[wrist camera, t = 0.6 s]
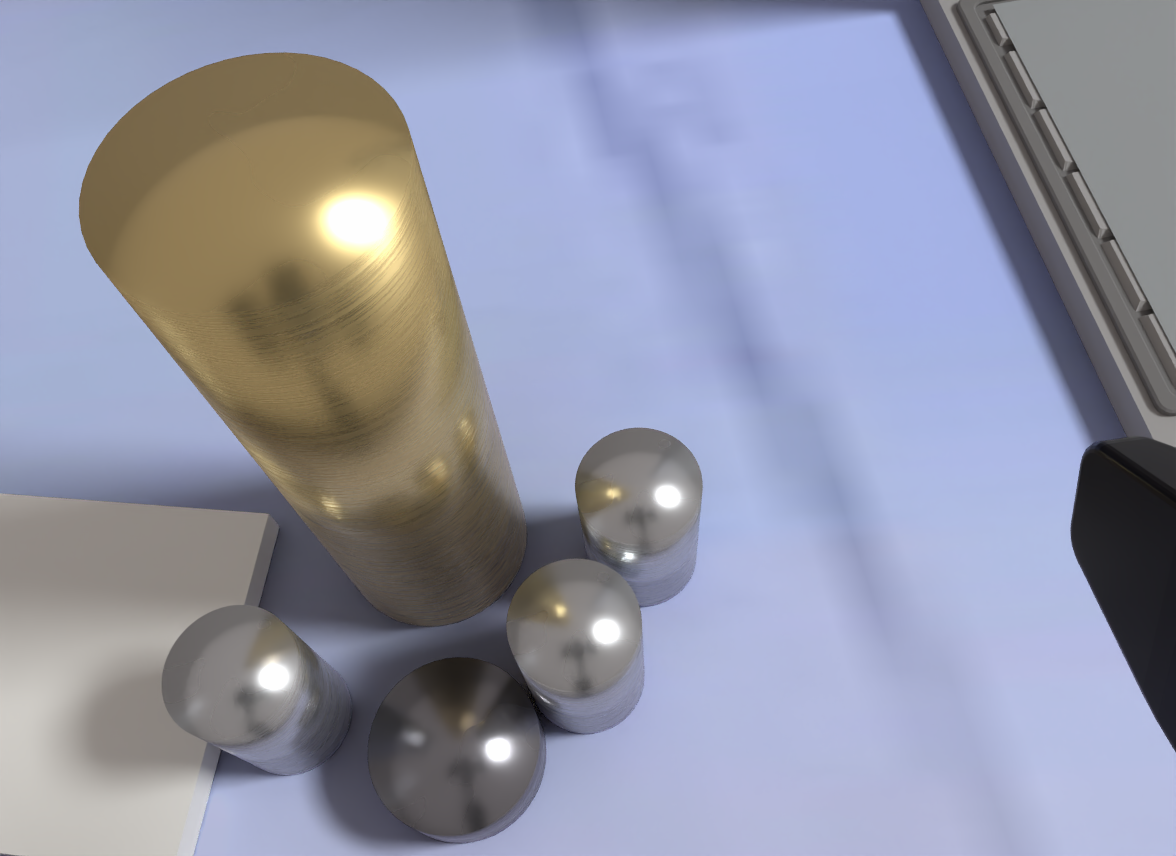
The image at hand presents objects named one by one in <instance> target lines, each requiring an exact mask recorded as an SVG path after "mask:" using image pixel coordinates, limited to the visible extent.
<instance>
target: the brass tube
mask: <svg viewBox="0 0 1176 856" xmlns="http://www.w3.org/2000/svg"><path fill="white" fill-rule="evenodd" d="M79 219H80V225H81V231H82V235H83V237H84V240H85V243H86V246H87V248H88V250H89V252H90V253H91V255H92V257H93V258H94V260H95V262H96V263H97V264H98V266H99V267H100V268H101V269H102V271H103V272H104V273H105V274H106V276H107V277H108V278H109V279H110V281H111V282H112V283H113V284H114V286H115V287H116V288H117V289H118V291H119V292H120V293H121V294H122V296H123V297H124V298H125V299H126V300H127V302H128V303H129V304H130V305H131V307H132V308H133V309H134V310H135V312H136V313H137V314H138V315H139V317H140V318H141V319H142V320H143V322H144V323H145V324H146V325H147V327H148V328H149V329H150V330H151V332H152V333H153V334H154V335H155V337H156V338H157V339H158V340H159V342H160V343H161V344H162V345H163V347H164V348H165V349H166V350H167V352H168V353H169V354H170V355H171V357H172V358H173V359H174V360H175V362H176V363H177V364H178V365H179V367H180V368H181V369H182V370H183V371H184V373H185V374H186V375H187V376H188V378H189V379H190V380H191V381H192V383H193V384H194V385H195V386H196V388H197V389H198V390H199V391H200V393H201V394H202V395H203V396H204V398H205V399H206V400H207V401H208V403H209V404H210V405H211V406H212V408H213V409H214V410H215V411H216V413H217V414H218V415H219V416H220V418H221V419H222V420H223V421H224V423H225V424H226V425H227V426H228V428H229V429H230V430H231V431H232V433H233V434H234V435H235V436H236V438H237V439H238V440H239V441H240V442H241V444H242V445H243V446H244V447H245V449H246V450H247V451H248V452H249V454H250V455H251V456H252V457H253V459H254V460H255V461H256V462H257V464H258V465H259V466H260V467H261V469H262V470H263V471H264V472H265V474H266V475H267V476H268V477H269V479H270V480H271V481H272V482H273V484H274V485H275V486H276V487H277V489H278V490H279V491H280V492H281V494H282V495H283V496H284V497H285V499H286V500H287V501H288V502H289V504H290V505H291V506H292V507H293V509H294V510H295V511H296V512H297V513H298V515H299V516H300V517H301V518H302V520H303V521H304V522H305V523H306V525H307V526H308V527H309V528H310V530H311V531H312V532H313V533H314V535H315V536H316V537H317V538H318V540H319V541H320V542H321V543H322V545H323V546H324V547H325V548H326V550H327V551H328V552H329V553H330V555H331V556H332V557H333V558H334V560H335V561H336V562H337V563H338V565H339V566H340V567H341V568H342V570H343V571H344V572H345V573H346V575H347V576H348V577H349V578H350V580H351V581H352V582H353V583H354V584H355V586H356V587H357V588H358V589H359V591H360V592H361V593H362V594H363V596H364V597H365V598H366V599H367V600H368V601H369V603H370V604H372V605H373V606H374V607H375V608H376V609H377V610H379V611H380V612H382V613H383V614H385V615H387V616H388V617H390V618H393V619H395V620H397V621H400V622H403V623H407V624H411V625H417V626H441V625H448V624H452V623H456V622H459V621H462V620H465V619H467V618H470V617H472V616H474V615H476V614H477V613H479V612H481V611H483V610H484V609H485V608H487V607H488V606H490V605H491V604H492V603H493V602H495V601H496V600H497V599H498V598H499V597H500V596H501V595H502V594H503V593H504V592H505V590H506V589H507V588H508V587H509V585H510V584H511V582H512V581H513V579H514V578H515V576H516V574H517V572H518V570H519V568H520V566H521V563H522V560H523V557H524V553H525V549H526V541H527V527H526V520H525V515H524V511H523V508H522V504H521V501H520V498H519V494H518V491H517V488H516V484H515V481H514V478H513V474H512V471H511V468H510V465H509V461H508V458H507V455H506V451H505V448H504V445H503V441H502V438H501V435H500V431H499V428H498V425H497V421H496V418H495V415H494V411H493V408H492V405H491V401H490V398H489V395H488V391H487V388H486V385H485V381H484V378H483V375H482V371H481V368H480V365H479V361H478V358H477V355H476V351H475V348H474V345H473V341H472V338H471V335H470V331H469V328H468V325H467V321H466V318H465V315H464V311H463V308H462V305H461V301H460V298H459V295H458V291H457V288H456V285H455V281H454V278H453V275H452V271H451V268H450V265H449V261H448V258H447V255H446V251H445V248H444V245H443V241H442V238H441V235H440V231H439V228H438V225H437V222H436V218H435V215H434V212H433V208H432V205H431V202H430V198H429V195H428V192H427V188H426V185H425V182H424V178H423V175H422V172H421V168H420V165H419V162H418V158H417V155H416V152H415V148H414V145H413V142H412V138H411V135H410V132H409V129H408V126H407V123H406V121H405V118H404V116H403V114H402V112H401V110H400V109H399V107H398V105H397V104H396V102H395V101H394V99H393V98H392V97H391V96H390V95H389V94H388V93H387V91H386V90H385V89H384V88H383V87H381V86H380V85H379V84H378V83H377V82H375V81H374V80H373V79H372V78H370V77H369V76H367V75H365V74H364V73H362V72H360V71H359V70H357V69H355V68H352V67H350V66H348V65H346V64H343V63H341V62H338V61H334V60H331V59H328V58H324V57H319V56H313V55H308V54H298V53H263V54H254V55H246V56H241V57H236V58H231V59H227V60H223V61H220V62H217V63H213V64H210V65H207V66H204V67H201V68H199V69H196V70H194V71H191V72H189V73H187V74H185V75H183V76H181V77H179V78H177V79H175V80H173V81H171V82H169V83H167V84H165V85H164V86H162V87H161V88H159V89H157V90H156V91H154V92H153V93H151V94H150V95H148V96H147V97H146V98H144V99H143V100H142V101H140V102H139V103H138V104H137V105H135V106H134V107H133V108H132V109H131V110H130V111H129V112H128V113H126V114H125V115H124V116H123V117H122V118H121V119H120V120H119V121H118V122H117V124H116V125H115V126H114V127H113V128H112V129H111V130H110V132H109V133H108V134H107V135H106V137H105V138H104V140H103V141H102V143H101V144H100V146H99V147H98V148H97V150H96V152H95V154H94V156H93V158H92V160H91V162H90V164H89V166H88V168H87V171H86V174H85V177H84V180H83V183H82V188H81V193H80V199H79Z"/></svg>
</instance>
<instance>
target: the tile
mask: <svg viewBox="0 0 1176 856" xmlns="http://www.w3.org/2000/svg"><path fill="white" fill-rule="evenodd" d="M279 527H280V526H279V525H278V524H277V523H276V521H275V520H274V519H273V518H272V517H271V516H270V515H269V514H267V513H253V512H240V511H227V510H213V509H200V508H187V507H173V506H160V505H147V504H133V503H120V502H107V501H93V500H80V499H67V498H53V497H40V496H27V495H14V494H0V854H1V855H9V856H193V855H194V851H195V847H196V843H197V839H198V836H199V832H200V828H201V824H202V820H203V817H204V813H205V809H206V805H207V801H208V798H209V794H210V790H211V786H212V782H213V779H214V775H215V771H216V767H217V763H218V759H219V756H220V752H221V749H220V748H218V747H216V746H214V745H212V744H210V743H208V742H206V741H204V740H202V739H200V738H198V737H196V736H193V735H192V734H190V733H188V732H186V731H185V730H183V729H182V728H180V727H179V726H178V725H177V724H176V723H175V722H174V720H173V719H172V718H171V716H170V715H169V713H168V711H167V709H166V707H165V704H164V701H163V696H162V685H161V681H162V673H163V668H164V664H165V661H166V659H167V656H168V654H169V652H170V650H171V648H172V646H173V645H174V643H175V642H176V640H177V639H178V637H179V636H180V635H181V634H182V633H183V631H184V630H185V629H186V628H187V627H188V626H190V625H191V624H192V623H193V622H195V621H196V620H197V619H199V618H200V617H202V616H203V615H205V614H207V613H209V612H211V611H213V610H216V609H219V608H222V607H226V606H232V605H250V606H255V607H259V603H260V599H261V596H262V592H263V588H264V584H265V580H266V577H267V573H268V569H269V565H270V561H271V558H272V554H273V550H274V546H275V542H276V539H277V535H278V531H279Z"/></svg>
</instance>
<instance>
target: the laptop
mask: <svg viewBox="0 0 1176 856" xmlns="http://www.w3.org/2000/svg"><path fill="white" fill-rule="evenodd" d="M920 2H921V5H922V7H923V9H924V11H925V13H926V15H927V17H928V19H929V21H930V23H931V26H932V28H933V30H934V32H935V34H936V36H937V38H938V40H939V42H940V45H941V47H942V49H943V51H944V53H945V55H946V57H947V59H948V61H949V63H950V66H951V68H952V70H953V72H954V74H955V76H956V78H957V80H958V82H959V84H960V87H961V89H962V91H963V93H964V95H965V97H966V99H967V101H968V103H969V105H970V108H971V110H972V112H973V114H974V116H975V118H976V120H977V122H978V124H979V127H980V129H981V131H982V133H983V135H984V137H985V139H986V141H987V143H988V145H989V148H990V150H991V152H992V154H993V156H994V158H995V160H996V162H997V164H998V166H999V169H1000V171H1001V173H1002V175H1003V177H1004V179H1005V181H1006V183H1007V185H1008V187H1009V190H1010V192H1011V194H1012V196H1013V198H1014V200H1015V202H1016V204H1017V206H1018V209H1019V211H1020V213H1021V215H1022V217H1023V219H1024V221H1025V223H1026V225H1027V227H1028V230H1029V232H1030V234H1031V236H1032V238H1033V240H1034V242H1035V244H1036V246H1037V248H1038V251H1039V253H1040V255H1041V257H1042V259H1043V261H1044V263H1045V265H1046V267H1047V270H1048V272H1049V274H1050V276H1051V278H1052V280H1053V282H1054V284H1055V286H1056V288H1057V291H1058V293H1059V295H1060V297H1061V299H1062V301H1063V303H1064V305H1065V307H1066V309H1067V312H1068V314H1069V316H1070V318H1071V320H1072V322H1073V324H1074V326H1075V328H1076V330H1077V333H1078V335H1079V337H1080V339H1081V341H1082V343H1083V345H1084V347H1085V349H1086V352H1087V354H1088V356H1089V358H1090V360H1091V362H1092V364H1093V366H1094V368H1095V370H1096V373H1097V375H1098V377H1099V379H1100V381H1101V383H1102V385H1103V387H1104V389H1105V391H1106V394H1107V396H1108V398H1109V400H1110V402H1111V404H1112V406H1113V408H1114V410H1115V412H1116V415H1117V417H1118V419H1119V421H1120V423H1121V425H1122V427H1123V429H1124V431H1125V433H1126V436H1127V437H1134V436H1143V437H1148V438H1151V439H1154V440H1157V441H1160V442H1162V443H1165V444H1168V445H1171V446H1173V447H1176V0H920Z"/></svg>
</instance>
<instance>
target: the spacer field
mask: <svg viewBox="0 0 1176 856" xmlns="http://www.w3.org/2000/svg"><path fill="white" fill-rule="evenodd" d="M575 491H576V499H577V504H578V510H579V515H580V521H581V527H582V532H583V538H584V543H585V549H586V554H587V559H564V560H560V561H555V562H553V563H550V564H547V565H545V566H544V567H542V568H540V569H538V570H537V571H535V572H534V573H532V574H531V575H530V576H529V577H528V578H527V579H526V580H525V581H524V582H523V583H522V584H521V586H520V587H519V588H518V590H517V591H516V593H515V595H514V597H513V599H512V601H511V604H510V607H509V610H508V615H507V624H506V628H507V637H508V643H509V646H510V649H511V651H512V653H513V655H514V658H515V660H516V662H517V664H518V666H519V668H520V670H521V672H522V674H523V677H524V679H525V681H526V683H527V685H528V687H529V689H530V691H531V693H532V696H533V698H534V700H535V702H536V704H537V706H538V707H539V709H540V710H541V712H542V713H543V714H544V715H545V716H546V717H547V718H548V719H549V720H550V721H551V722H552V723H554V724H555V725H557V726H559V727H560V728H563V729H565V730H567V731H571V732H575V733H581V734H591V733H598V732H602V731H605V730H608V729H610V728H612V727H614V726H616V725H618V724H619V723H620V722H622V721H623V720H624V719H625V718H626V717H627V716H628V715H629V714H630V713H631V712H632V711H633V709H634V708H635V706H636V705H637V703H638V701H639V699H640V696H641V694H642V690H643V686H644V655H643V636H642V619H641V611H640V607H639V606H652V605H656V604H660V603H663V602H665V601H667V600H669V599H671V598H673V597H674V596H675V595H677V594H678V593H679V592H680V591H681V590H682V589H683V588H684V587H685V586H686V584H687V583H688V582H689V580H690V578H691V576H692V574H693V572H694V568H695V564H696V555H697V544H698V533H699V522H700V511H701V500H702V475H701V471H700V468H699V465H698V463H697V461H696V459H695V457H694V456H693V454H692V453H691V452H690V450H689V449H688V448H687V447H686V446H685V445H684V444H683V443H681V442H680V441H679V440H677V439H676V438H674V437H673V436H671V435H669V434H667V433H664V432H661V431H658V430H654V429H649V428H629V429H624V430H620V431H617V432H614V433H612V434H610V435H608V436H606V437H604V438H602V439H601V440H599V441H598V442H597V443H596V444H594V445H593V446H592V447H591V448H590V449H589V451H588V452H587V453H586V454H585V456H584V457H583V459H582V461H581V463H580V465H579V468H578V471H577V474H576V480H575ZM161 685H162V696H163V701H164V704H165V707H166V709H167V711H168V713H169V715H170V716H171V718H172V719H173V720H174V722H175V723H176V724H177V725H178V726H179V727H180V728H182V729H183V730H185V731H186V732H188V733H190V734H192V735H193V736H196V737H198V738H200V739H202V740H204V741H206V742H208V743H210V744H212V745H214V746H216V747H218V748H220V749H222V750H224V751H226V752H228V753H230V754H232V755H234V756H236V757H238V758H240V759H242V760H244V761H246V762H249V763H251V764H253V765H255V766H257V767H259V768H261V769H263V770H265V771H267V772H270V773H273V774H278V775H296V774H301V773H304V772H307V771H310V770H312V769H314V768H316V767H318V766H319V765H321V764H322V763H324V762H325V761H326V760H327V759H328V758H330V757H331V756H332V755H333V754H334V752H335V751H336V750H337V749H338V747H339V746H340V745H341V743H342V741H343V740H344V738H345V736H346V734H347V731H348V729H349V725H350V721H351V715H352V702H351V696H350V692H349V689H348V687H347V684H346V683H345V681H344V679H343V678H342V677H341V675H340V674H339V673H338V672H337V671H336V670H335V669H334V668H332V667H331V666H330V665H329V664H328V663H327V662H326V661H325V660H324V659H323V658H321V657H320V656H319V655H318V654H317V653H316V652H315V651H314V650H313V649H311V648H310V647H309V646H308V645H307V644H306V643H305V642H304V641H303V640H302V639H300V638H299V637H298V636H297V635H296V634H295V633H294V632H293V631H292V630H290V629H289V628H288V627H287V626H286V625H285V624H284V623H283V622H282V621H281V620H279V619H278V618H277V617H276V616H275V615H273V614H272V613H270V612H269V611H266V610H264V609H262V608H259V607H255V606H250V605H232V606H226V607H222V608H219V609H216V610H213V611H211V612H209V613H207V614H205V615H203V616H202V617H200V618H199V619H197V620H196V621H195V622H193V623H192V624H191V625H190V626H188V627H187V628H186V629H185V630H184V631H183V633H182V634H181V635H180V636H179V637H178V639H177V640H176V642H175V643H174V645H173V646H172V648H171V650H170V652H169V654H168V656H167V659H166V661H165V664H164V668H163V673H162V681H161ZM545 764H546V742H545V736H544V731H543V728H542V725H541V722H540V720H539V718H538V716H537V714H536V712H535V709H534V707H533V705H532V703H531V701H530V699H529V697H528V696H527V694H526V693H525V691H524V690H523V688H522V687H521V686H520V685H519V684H518V682H517V681H516V680H515V679H514V678H513V677H511V676H510V675H509V674H508V673H507V672H505V671H504V670H502V669H500V668H499V667H497V666H495V665H493V664H490V663H488V662H485V661H482V660H478V659H473V658H461V657H455V658H446V659H442V660H437V661H434V662H431V663H428V664H426V665H423V666H422V667H420V668H418V669H416V670H414V671H413V672H411V673H410V674H408V675H407V676H405V677H404V678H403V679H402V680H401V681H400V682H398V683H397V684H396V685H395V686H394V688H393V689H392V690H391V691H390V692H389V693H388V695H387V696H386V698H385V699H384V700H383V702H382V703H381V705H380V707H379V709H378V711H377V713H376V715H375V718H374V720H373V723H372V726H371V730H370V734H369V740H368V766H369V772H370V776H371V780H372V783H373V785H374V788H375V790H376V792H377V794H378V796H379V797H380V799H381V801H382V802H383V803H384V805H385V806H386V807H387V809H388V810H389V811H390V812H391V813H392V814H393V815H394V816H395V817H396V818H398V819H399V820H400V821H402V822H403V823H405V824H406V825H408V826H410V827H411V828H413V829H415V830H417V831H419V832H421V833H423V834H424V835H426V836H428V837H430V838H433V839H436V840H439V841H444V842H449V843H469V842H475V841H479V840H483V839H486V838H489V837H491V836H494V835H496V834H497V833H499V832H501V831H503V830H505V829H506V828H507V827H509V826H510V825H511V824H513V823H514V822H515V821H516V820H517V819H518V818H519V817H520V816H521V815H522V814H523V813H524V812H525V810H526V809H527V808H528V807H529V805H530V804H531V802H532V800H533V799H534V797H535V795H536V793H537V791H538V789H539V787H540V784H541V781H542V778H543V775H544V769H545Z"/></svg>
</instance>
